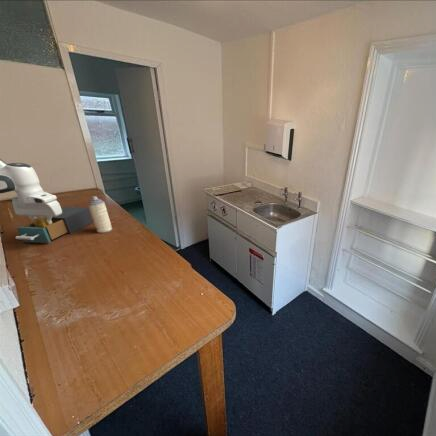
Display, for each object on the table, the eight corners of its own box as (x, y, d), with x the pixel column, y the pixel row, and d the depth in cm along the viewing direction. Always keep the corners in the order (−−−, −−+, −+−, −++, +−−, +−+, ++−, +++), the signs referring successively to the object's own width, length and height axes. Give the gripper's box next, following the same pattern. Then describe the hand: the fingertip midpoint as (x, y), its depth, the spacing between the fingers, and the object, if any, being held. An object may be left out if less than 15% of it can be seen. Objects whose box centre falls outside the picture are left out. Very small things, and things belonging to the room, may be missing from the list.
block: (35, 227, 116) (32, 219, 114) (44, 224, 120) (41, 216, 118) (44, 228, 116) (41, 220, 114) (53, 224, 120) (50, 216, 118)
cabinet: (70, 234, 125) (64, 218, 121) (45, 233, 125) (38, 216, 121) (93, 222, 140) (88, 207, 136) (70, 221, 139) (65, 206, 136)
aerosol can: (108, 227, 135) (98, 194, 127) (115, 229, 132) (105, 196, 124) (94, 231, 129) (83, 197, 121) (101, 234, 126) (90, 199, 119)
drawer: (40, 247, 111) (33, 232, 107) (13, 246, 110) (6, 231, 107) (74, 230, 128) (69, 217, 125) (51, 229, 128) (46, 216, 125)
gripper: (3, 198, 109) (15, 224, 114) (47, 200, 109) (57, 226, 115) (17, 194, 115) (29, 219, 120) (59, 196, 115) (68, 221, 120)
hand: (43, 223), depth 117 cm, fingers closed on block, 4 cm apart
